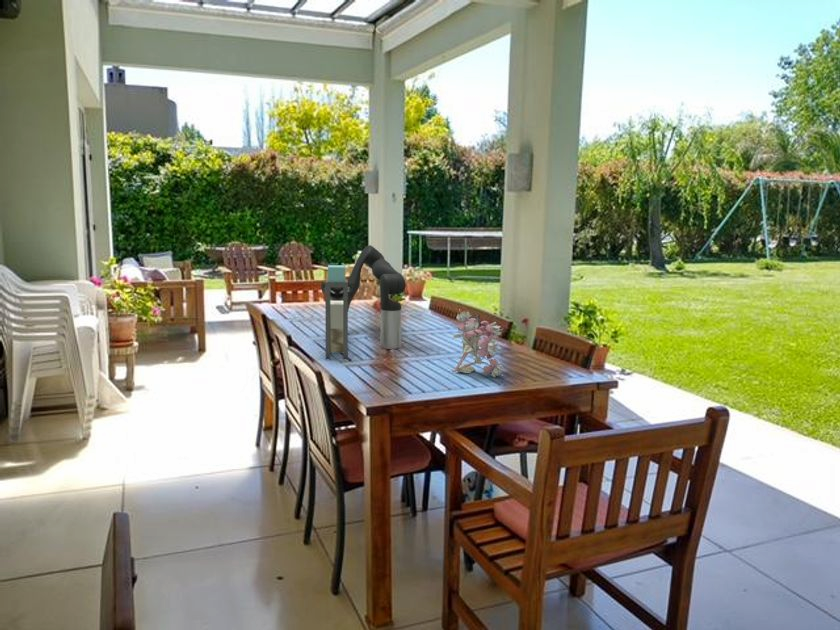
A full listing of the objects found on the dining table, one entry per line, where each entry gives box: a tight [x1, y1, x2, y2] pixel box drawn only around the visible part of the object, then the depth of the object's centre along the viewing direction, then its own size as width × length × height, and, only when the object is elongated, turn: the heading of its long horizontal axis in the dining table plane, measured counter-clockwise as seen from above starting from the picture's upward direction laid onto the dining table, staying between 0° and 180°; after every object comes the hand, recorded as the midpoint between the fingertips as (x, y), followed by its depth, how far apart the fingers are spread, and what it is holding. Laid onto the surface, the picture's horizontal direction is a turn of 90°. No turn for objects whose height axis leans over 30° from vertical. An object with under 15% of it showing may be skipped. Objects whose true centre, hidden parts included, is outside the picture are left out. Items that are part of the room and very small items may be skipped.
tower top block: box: [330, 301, 343, 329], centre depth 285 cm, size 8×12×10 cm, turn 7°
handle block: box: [327, 264, 346, 282], centre depth 274 cm, size 7×21×6 cm, turn 7°
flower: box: [450, 308, 504, 378], centre depth 246 cm, size 20×22×25 cm
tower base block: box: [331, 329, 343, 353], centre depth 287 cm, size 8×12×10 cm, turn 7°
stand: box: [324, 278, 349, 360], centre depth 272 cm, size 9×12×32 cm
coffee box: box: [462, 313, 481, 354], centre depth 288 cm, size 9×6×16 cm
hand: (337, 281), depth 289 cm, fingers open, 8 cm apart
